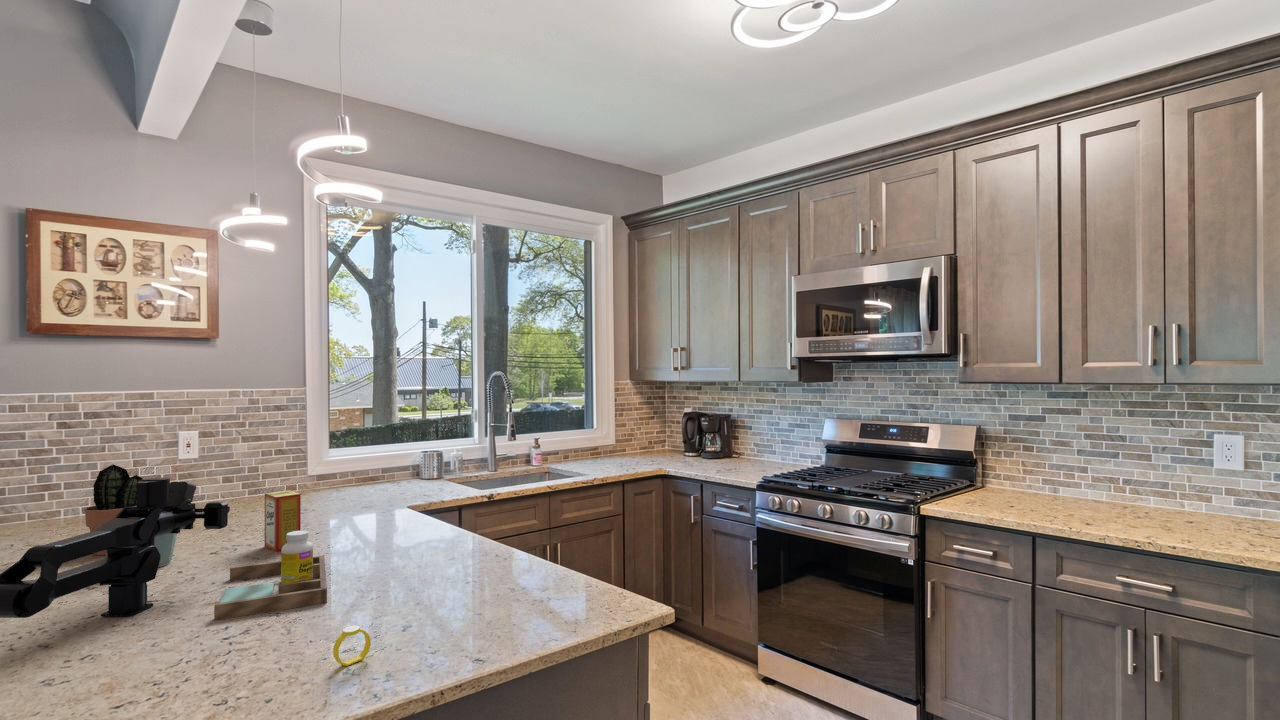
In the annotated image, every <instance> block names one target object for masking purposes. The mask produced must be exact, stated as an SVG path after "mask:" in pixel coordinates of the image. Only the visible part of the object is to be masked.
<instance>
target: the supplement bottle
mask: <svg viewBox="0 0 1280 720" xmlns="http://www.w3.org/2000/svg"><path fill="white" fill-rule="evenodd" d="M309 534H310V533H309V531H308V530H300V531H293V532H289V533H287V534H286V539H287V544H285V545H284V546H283V547H282V550H281V552H280V553H281V554H280V555H281V559H280V561H281V574H280V585H281V584H288V583H295V582H302V581H309V580H314V577H313V557H314V545H313V543H312V542H311V541H308V538H309Z"/></svg>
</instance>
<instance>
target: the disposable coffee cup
mask: <svg viewBox="0 0 1280 720" xmlns="http://www.w3.org/2000/svg"><path fill="white" fill-rule="evenodd" d="M177 536H178V533H168V534H165V535H162V536H158V537H155V540H154V546H156V548H157V549H158V551H159V553H160V562H159V566H158V568H160V567H161V568H162V567H165V566H168V565H170V564H171V561H172V560H173V555H174V554H173V553H174V550H175V546H176V541H177Z"/></svg>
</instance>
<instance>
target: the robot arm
mask: <svg viewBox="0 0 1280 720" xmlns="http://www.w3.org/2000/svg"><path fill="white" fill-rule="evenodd" d="M136 490H137V506H134V507H124V508H123V509H122V511H121V512H120V513H119V514H118V515H117V516H116V517H115V518H114V519H113V520H111V521H109V522H107V523H104V524H102V525H101V526H100V528H99V529H97V530H95V531H92V532H90V531H88V532H86V533H81V534H77V535H75V536H72V537H68V538H64V539H60V540H56V541H54V542H50V543H46V544H43V545H42V544H39V545H38V544H37V545H35V546H32V547H30V548H28V549H27V550H26V551H25V552H24V554H23V555H22V556H21V558H20V559H19V560H18V561H16V562H15V563H14V564H12V565H11V566H10V567H8V568H7V569H5V570H4V571H2V572H1V573H0V619H10V618H11V619H26V618H30V617H33V616H35V615H36V614H38V613H40V612H42V611H44V610H45V609H47V608H48V607H49V606H50V605H51V604H52V603H53V602H54V600H57V599H58V598H61V597H64V596H67V595H69V594H72V593H75V592H79V591H80V590H83V589H86V588H89V587H92V586H95V585H97V584H98V585H99V586H101V587H102V586H108V592H107V593H108V597H107V599H108V601H107V602H108V603H107V605H108V606H107V607H108V609H107V611H105V612H102V613H101V614H100V617H132V616H134V615H136V614H138V613H141V612H143V611H145V610H147V609H149V608H152V607H153V606H154V603H153V602H149V603H148V584H147V583H148V582H150V581H153V580H156V576H157V572H158V570H159V567H158V566H159V562H160V553H159V551H158V549H157V548H156V546H154V540H155V537H158V536H162V535H165V534H168V533H177V534H179V533H181V530H193V529H194V524H195V521H196V519H203V527H204V528H205V529H206V530H221V529H224V528H226V527H227V526H228V523H229V522H228V521H229V520H228V517H229V515H228V514H229V512H230V509H231V507H230V506H229V503H227V501H210V502H207V503H206V504H205V505H204V507H201V508H199V507H196V503H194V502H193V499H194V496H195V493H196V490H197V485H196V484H195V483H191V482H187V481H171V478H170V477H150V478H143V479H142V480H140V481H139V482H138V483H137V484H136ZM106 549H107V555H104V556H105V557H103V558H102V559H98V560H95V561H92V562H88V563H87V564H82V565H80V566H79V565H78V566H76V567H73V568H70V569H67V570H64V571H60V572H59V569H60V568H61V567H62V565H63V564H65V563H68V562H71V561H74V560H77V559H80V558H83V557H87V556H90V555H93V554H96V553H97V552H100V551H103V550H106ZM37 569H40V573H39V577H38V578H37V579H27V580H24V579H25V578H26V577H28V576H29V575H31V574H32V573H33V572H35V571H36V570H37Z"/></svg>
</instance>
